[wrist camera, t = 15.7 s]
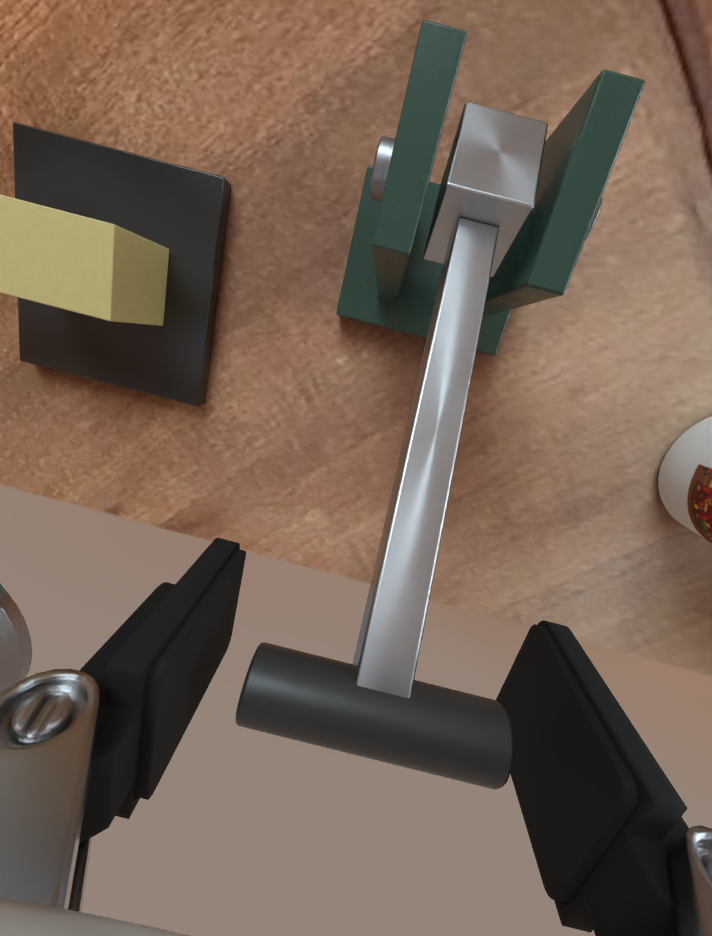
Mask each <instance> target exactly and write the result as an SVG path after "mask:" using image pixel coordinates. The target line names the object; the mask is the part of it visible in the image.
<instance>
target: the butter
mask: <svg viewBox="0 0 712 936" xmlns="http://www.w3.org/2000/svg"><path fill="white" fill-rule="evenodd" d="M168 259H169V249H168V248H166V247H164V246H161V245H159V244H157V243H155V242H152V241H150V240H148V239H146V238H144V237H141V236H139V235H137V234H135V233H132V232H130V231H128V230H126V229H123V228H121V227H119V226H117V225H115V224H111V223H107V222H103V221H100V220H96V219H92V218H88V217H84V216H80V215H77V214H73V213H69V212H65V211H61V210H57V209H54V208H50V207H46V206H42V205H38V204H34V203H31V202H27V201H23V200H19V199H15V198H12V197H8V196H4V195H0V293H3V294H6V295H10V296H14V297H18V298H22V299H26V300H30V301H34V302H37V303H41V304H45V305H49V306H53V307H57V308H61V309H65V310H68V311H72V312H76V313H80V314H84V315H88V316H92V317H95V318H99V319H103V320H107V321H113V322H124V323H136V324H147V325H159V326H163V320H164V308H165V296H166V284H167V272H168Z"/></svg>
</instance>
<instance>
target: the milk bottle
mask: <svg viewBox="0 0 712 936" xmlns="http://www.w3.org/2000/svg"><path fill="white" fill-rule="evenodd" d="M658 489H659V493H660V498H661V500H662V502H663V504H664V506H665V508H666V510H667V511H668V513H669V514H670V515H671V516H672V517H673V518H674V519H675V520H676V521H678V522H679V523H681V524H682V525H684V526H685V527H687V528H688V529H690V530H691V531H693V532H695V533H696V534H698V535H699V536H701V537H703V538H704V539H706V540H708V541H709V542H711V543H712V416H711V417H708V418H706V419H704V420H702V421H701V422H699V423H697V424H695V425H693V426H692V427H691V428H689V429H688V430H687V431H685V432H684V433H683V434H682V435H681V436H680V437H679V438H678V439H677V440H676V441H675V442H674V443H673V444H672V446H671V447H670V449H669V450H668V452H667V453H666V455H665V457H664V460H663V462H662V464H661V467H660V471H659V475H658Z"/></svg>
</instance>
